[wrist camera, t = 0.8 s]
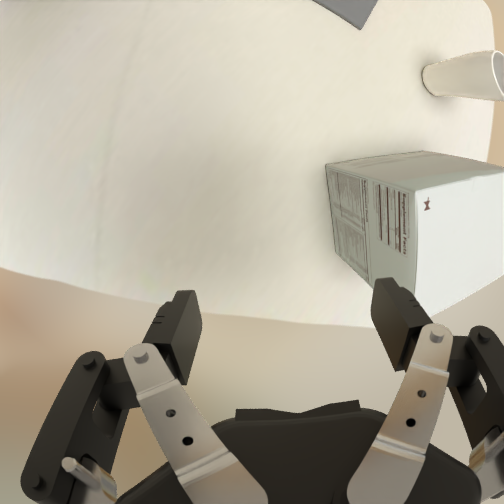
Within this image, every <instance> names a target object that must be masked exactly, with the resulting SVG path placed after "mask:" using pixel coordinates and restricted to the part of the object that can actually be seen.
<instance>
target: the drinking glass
mask: <svg viewBox="0 0 504 504" xmlns="http://www.w3.org/2000/svg"><path fill="white" fill-rule="evenodd" d="M422 77H423V82H424V84H425V86H426V88H427V89H428V91H429V92H430V93H432V94H433V95H435V96H452V97H463V98H472V99H480V100H488V101H504V55H503V54H502V53H501V52H500V51H497V50H491V51H479V52H473V53H469V54H465V55H462V56H458V57H455V58H452V59H448V60H445V61H442V62H438V63H435V64H430V65H427V66H426V67H425V68H424V70H423V74H422Z"/></svg>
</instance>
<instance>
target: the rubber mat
mask: <svg viewBox="0 0 504 504" xmlns="http://www.w3.org/2000/svg"><path fill="white" fill-rule="evenodd" d="M313 1H315V2H316V3H318V4H320V5H322V6H323V7H325V8H327V9H328V10H330V11H332V12H333V13H335V14H337V15H338V16H340V17H341V18H343V19H344V20H346V21H347V22H349V23H350V24H352V25H353V26H355V27H356V28H358V29H359V30H361V29H362V28H363V26H364V24H365V22H366V21H367V19H368V17H369V15H370V14H371V12H372V10H373V8H374V7H375V5H376V3H377V1H378V0H313Z"/></svg>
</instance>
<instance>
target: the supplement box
mask: <svg viewBox="0 0 504 504" xmlns="http://www.w3.org/2000/svg"><path fill="white" fill-rule="evenodd" d="M326 172H327V179H328V187H329V195H330V203H331V211H332V219H333V229H334V238H335V248H336V253H337V254H338V255H339V256H340V257H341V258H342V259H343V260H344V261H345V262H346V263H347V264H348V265H349V266H350V267H351V268H352V269H353V270H354V271H355V272H357V273H358V274H359V275H360V276H361V277H362V278H363V279H364V280H365V281H366V282H367V283H368V284H369V285H370V286H371V287H372V288H373V289H374V284H375V280H376V279H377V278H387V277H393V278H394V280H395V281H396V282H397V284H398V285H399V287H404V288H406V289H407V290H409V291H410V292H412V294H413V295H414V296H415V298H416V300H417V301H418V302H419V303H420V306H422V307H423V309H424V310H425V312H426V313H427V315H428V316H429V317H431V316H433V315H435V314H437V313H439V312H441V311H443V310H445V309H446V308H448V307H450V306H452V305H454V304H456V303H457V302H459V301H461V300H463V299H464V298H466V297H468V296H470V295H471V294H473V293H475V292H477V291H478V290H480V289H481V288H483V287H485V286H487V285H488V284H490V283H491V282H493V281H495V280H496V279H498V278H499V277H501V276H502V275H504V167H501V166H497V165H493V164H489V163H485V162H481V161H477V160H472V159H468V158H463V157H457V156H452V155H447V154H441V153H435V152H429V151H421V152H412V153H403V154H394V155H386V156H378V157H371V158H364V159H357V160H351V161H344V162H338V163H332V164H327V165H326Z"/></svg>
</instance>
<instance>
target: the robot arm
mask: <svg viewBox="0 0 504 504" xmlns="http://www.w3.org/2000/svg"><path fill="white" fill-rule="evenodd" d="M371 318H372V321H373V323H374V325H375V327H376V330H377V332H378V334H379V336H380V338H381V341H382V343H383V345H384V347H385V349H386V352H387V354H388V356H389V358H390V361H391V363H392V366H393V368H394V370H395V372H396V371H401V370H405V372H406V374H405V377H404V379H403V382H402V384H401V387H400V389H399V391H398V393H397V395H396V398H395V400H394V402H393V404H392V407H391V409H390V411H389V413H388V415H386V414H384V413H382V412H379V411H376V410H372V409H366V408H360V404H359V400H353V401H347V402H339V403H332V404H328V405H324V406H321V407H318V408H315V409H312V410H309V411H306V412H302V413H291V412H284V411H278V410H271V409H236V415H235V418H230V419H227V420H224V421H221V422H219V423H216V424H215V425H213V426H211V427H210V426H209V425H208V423H207V422H206V420H205V419H204V418H203V416H202V415H201V413H200V412H199V410H198V409H197V408H196V406H195V405H194V403H193V402H192V400H191V399H190V397H189V396H188V394H187V393H186V392H185V390H184V388H183V387H182V385H187V382H188V378H189V374H190V371H191V367H192V363H193V360H194V356H195V352H196V349H197V345H198V342H199V338H200V335H201V331H202V319H201V314H200V310H199V305H198V301H197V297H196V293H195V291H194V290H182V291H177V292H176V294H175V296H174V298H173V300H172V302H166V303H165V304H164V305H163V306H162V307H160V308H159V310H158V312H157V314H156V317H155V318H154V320H153V322H152V324H151V326H150V328H149V330H148V331H147V334H146V336H145V338H144V340H143V342H142V343H141V344H137V345H134V346H133V347H131V348H130V349H128V350H127V351H126V353H125V355H124V358H119V359H112V360H106V359H105V357H104V355H103V354H102V353H100V352H97V351H91V352H87V353H85V354H83V355H81V356H80V357H79V358H78V360H77V361H76V362H75V364H74V366H73V367H72V369H71V371H70V373H69V375H68V376H67V378H66V380H65V382H64V384H63V386H62V388H61V389H60V391H59V393H58V395H57V397H56V399H55V401H54V403H53V405H52V407H51V409H50V411H49V413H48V415H47V417H46V419H45V421H44V423H43V425H42V428H41V430H40V432H39V434H38V436H37V438H36V441H35V443H34V445H33V448H32V450H31V452H30V455H29V457H28V460H27V462H26V465H25V467H24V470H23V472H22V475H21V487H22V490H23V492H24V493H25V494H26V496H27V497H29V498H30V499H32V500H33V501H35V502H37V503H39V504H480V503H481V502H483V501H485V500H487V499H489V498H492V499H496V498H499V497H500V496H502V495H504V346H503V344H502V343H501V341H500V340H499V338H498V337H497V336H496V334H495V333H494V332H493V331H492V330H491V329H489V328H487V327H485V326H475V327H473V328H472V329H471V330H470V333H469V335H468V336H453V335H452V333H451V331H450V330H449V329H448V328H447V327H445V326H443V325H441V324H435V323H433V322H432V320H431V319H430V317H429V316H428V315H427V313H426V312H425V310H424V309H423V307H422V306H420V303H419V302H418V301H417V300H416V298H415V296H414V295H413V294H412V292H410V291H409V290H407V289H406V288H404V287H399V285H398V284H397V282H396V281H395V280H394V278H393V277H387V278H377V279H376V280H375V284H374V290H373V297H372V304H371ZM480 374H481V375H482V377H483V379H484V381H485V383H486V385H487V393H486V392H485V390H484V388H483V386H482V384H481V382H480V380H479V376H480ZM446 387H449V390H450V392H451V394H452V397H453V399H454V402H455V404H456V406H457V409H458V411H459V414H460V417H461V419H462V421H463V425H464V427H465V430H466V433H467V436H468V439H469V441H470V444H471V447H472V452H471V454H470V458H469V465H468V466H466V465H465V464H463V463H461V462H460V461H458V460H456V459H454V458H453V457H451V456H450V455H448V454H446V453H445V452H443V451H442V450H440V449H438V448H437V447H435V446H434V445H432V444H431V443H429V442H430V439H431V436H432V433H433V430H434V428H435V425H436V422H437V418H438V415H439V412H440V408H441V405H442V402H443V398H444V394H445V390H446ZM96 402H97V403H96ZM95 404H96V406H95ZM94 407H95V408H94ZM136 407H141V408H142V411H143V413H144V415H145V417H146V419H147V421H148V423H149V425H150V427H151V429H152V431H153V433H154V435H155V437H156V439H157V441H158V443H159V445H160V447H161V449H162V451H163V452H164V454H165V456H166V458H167V460H168V462H166V463H165V464H164V465H163V466H161V467H160V468H159V469H157V470H156V471H155V472H153V473H152V474H151V475H149V476H148V477H147V478H145V479H144V480H142V481H141V482H140V483H138V484H137V485H136V486H134V487H133V488H131V489H130V490H128V491H127V492H126V493H124V494H123V495H122V496H120V497H119V498H118V499H117V485H116V482H115V480H114V478H113V477H112V476H111V475H110V474H111V470H112V466H113V463H114V459H115V455H116V452H117V448H118V445H119V442H120V438H121V435H122V431H123V428H124V425H125V422H126V419H127V415H128V412H129V409H130V408H136ZM93 409H94V410H93Z"/></svg>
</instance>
